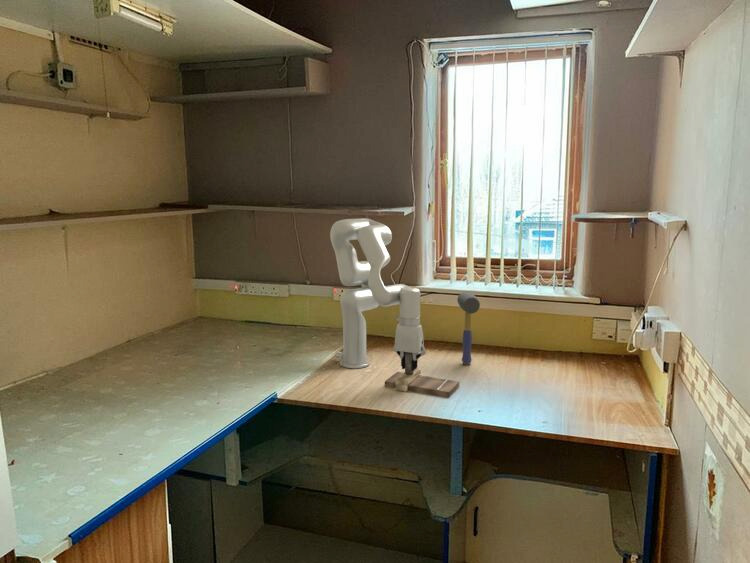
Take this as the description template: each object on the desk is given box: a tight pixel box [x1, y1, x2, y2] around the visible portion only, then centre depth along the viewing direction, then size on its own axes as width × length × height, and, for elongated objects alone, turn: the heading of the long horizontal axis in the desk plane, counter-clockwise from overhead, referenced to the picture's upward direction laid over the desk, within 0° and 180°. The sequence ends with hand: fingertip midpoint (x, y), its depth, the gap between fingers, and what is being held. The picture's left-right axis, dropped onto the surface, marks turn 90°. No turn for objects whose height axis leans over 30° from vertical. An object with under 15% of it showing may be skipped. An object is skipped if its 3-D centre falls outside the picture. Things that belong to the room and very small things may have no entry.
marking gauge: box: [395, 352, 422, 393], centre depth 213 cm, size 4×15×12 cm, turn 155°
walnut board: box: [384, 371, 460, 398], centre depth 213 cm, size 25×12×2 cm, turn 65°
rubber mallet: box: [457, 291, 481, 365], centre depth 236 cm, size 12×8×30 cm, turn 4°
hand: (409, 368), depth 214 cm, fingers closed on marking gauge, 3 cm apart
